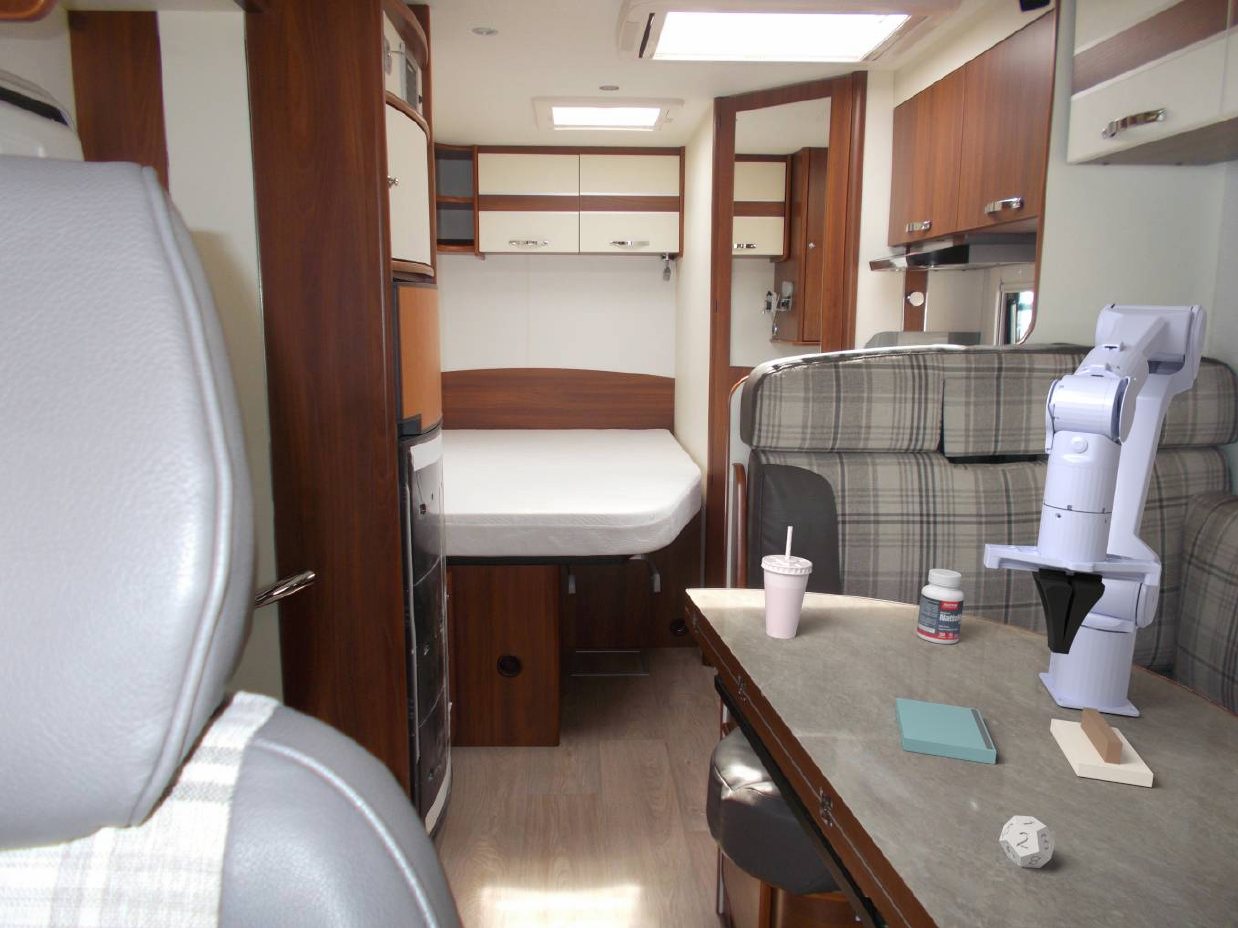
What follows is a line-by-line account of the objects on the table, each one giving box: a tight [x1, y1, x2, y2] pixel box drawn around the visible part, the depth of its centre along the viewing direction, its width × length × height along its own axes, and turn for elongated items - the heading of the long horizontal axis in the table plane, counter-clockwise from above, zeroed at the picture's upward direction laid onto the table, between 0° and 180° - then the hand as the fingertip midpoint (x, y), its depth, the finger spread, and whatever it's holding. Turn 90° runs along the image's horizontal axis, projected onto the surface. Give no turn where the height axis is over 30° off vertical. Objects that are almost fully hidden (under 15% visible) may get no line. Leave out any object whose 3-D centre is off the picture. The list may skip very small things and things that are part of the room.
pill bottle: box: [916, 568, 965, 645], centre depth 116 cm, size 5×5×9 cm
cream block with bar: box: [1049, 707, 1154, 788], centre depth 83 cm, size 10×6×3 cm, turn 167°
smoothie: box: [760, 525, 813, 640], centre depth 113 cm, size 6×6×14 cm
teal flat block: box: [894, 697, 997, 765], centre depth 86 cm, size 10×8×1 cm
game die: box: [998, 815, 1056, 869], centre depth 65 cm, size 4×4×3 cm
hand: (1057, 650), depth 83 cm, fingers closed
